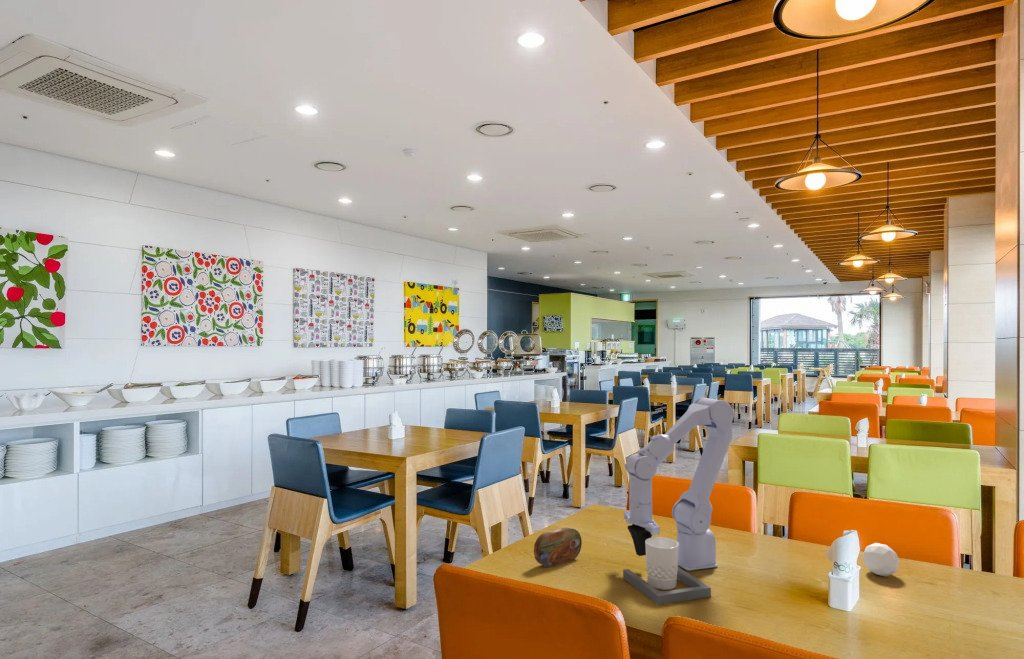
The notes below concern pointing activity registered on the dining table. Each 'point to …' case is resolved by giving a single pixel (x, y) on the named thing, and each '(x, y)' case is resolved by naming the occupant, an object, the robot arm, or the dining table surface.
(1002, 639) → the dining table surface
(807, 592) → the dining table surface
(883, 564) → the geometric ball
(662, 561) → the white cup
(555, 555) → the tin
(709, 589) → the gray u-shaped frame
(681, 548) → the robot arm
